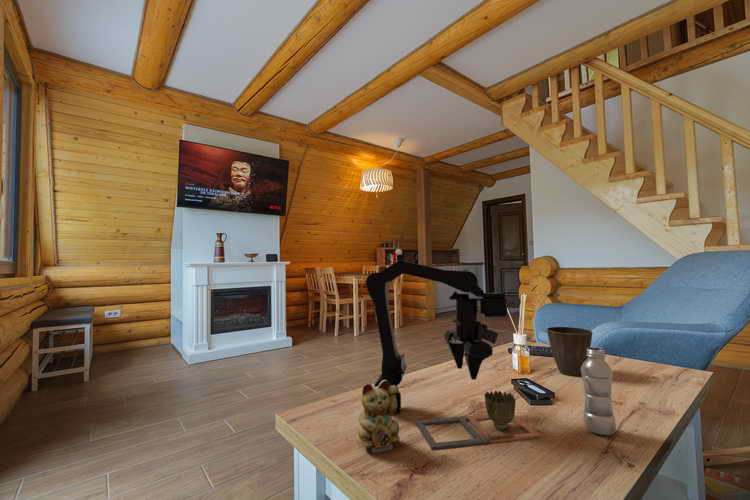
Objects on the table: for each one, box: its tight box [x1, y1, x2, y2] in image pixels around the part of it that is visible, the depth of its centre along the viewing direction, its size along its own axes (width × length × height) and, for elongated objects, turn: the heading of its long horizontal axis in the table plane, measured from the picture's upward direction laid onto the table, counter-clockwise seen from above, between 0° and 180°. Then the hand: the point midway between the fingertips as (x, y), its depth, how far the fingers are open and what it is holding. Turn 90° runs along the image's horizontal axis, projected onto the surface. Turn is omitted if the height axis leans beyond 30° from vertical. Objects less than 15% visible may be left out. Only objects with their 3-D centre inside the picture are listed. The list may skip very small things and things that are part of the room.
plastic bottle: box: [581, 347, 617, 436], centre depth 83 cm, size 6×7×20 cm
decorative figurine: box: [357, 380, 401, 454], centre depth 78 cm, size 10×8×15 cm
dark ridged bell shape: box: [484, 390, 517, 431], centre depth 85 cm, size 8×7×8 cm
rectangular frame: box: [415, 413, 542, 451], centre depth 84 cm, size 27×13×1 cm, turn 99°
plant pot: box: [546, 326, 593, 377], centre depth 127 cm, size 15×15×16 cm
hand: (466, 373), depth 93 cm, fingers open, 9 cm apart
